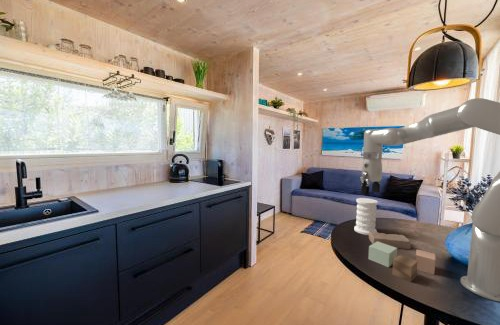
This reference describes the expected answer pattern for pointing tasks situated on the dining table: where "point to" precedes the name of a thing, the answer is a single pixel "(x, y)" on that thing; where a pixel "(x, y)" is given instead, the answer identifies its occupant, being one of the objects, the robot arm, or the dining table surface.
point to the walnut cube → (404, 268)
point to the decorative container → (366, 215)
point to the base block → (382, 253)
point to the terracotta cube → (425, 261)
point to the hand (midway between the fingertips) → (370, 193)
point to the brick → (390, 240)
